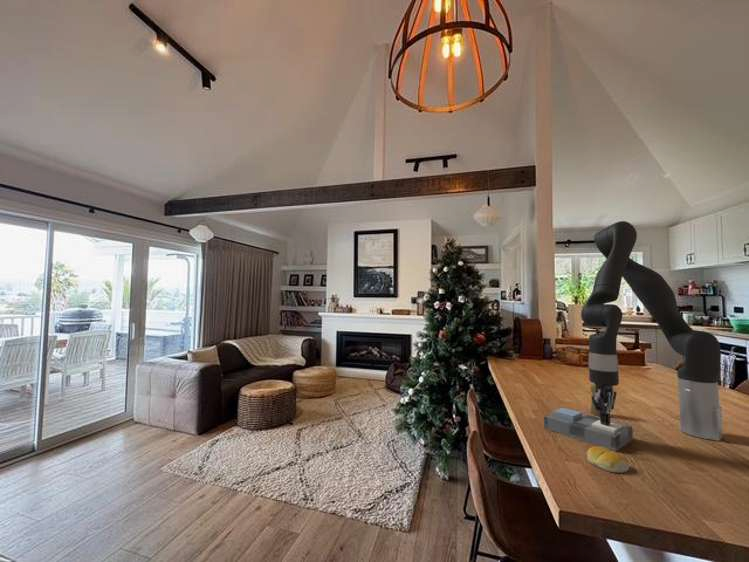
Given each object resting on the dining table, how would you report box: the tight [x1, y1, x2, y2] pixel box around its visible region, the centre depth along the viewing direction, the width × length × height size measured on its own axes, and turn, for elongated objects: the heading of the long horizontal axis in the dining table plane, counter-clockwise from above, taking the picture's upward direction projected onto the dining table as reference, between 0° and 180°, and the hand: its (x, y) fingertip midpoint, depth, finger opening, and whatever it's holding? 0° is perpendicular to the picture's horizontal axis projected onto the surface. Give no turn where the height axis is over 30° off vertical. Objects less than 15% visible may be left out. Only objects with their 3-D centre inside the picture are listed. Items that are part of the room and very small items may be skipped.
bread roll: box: [586, 445, 630, 474], centre depth 84 cm, size 8×9×4 cm
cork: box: [590, 383, 600, 418], centre depth 121 cm, size 6×6×11 cm
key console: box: [543, 412, 634, 452], centre depth 103 cm, size 20×14×4 cm
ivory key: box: [591, 420, 622, 433], centre depth 98 cm, size 6×6×2 cm
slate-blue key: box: [553, 407, 582, 421], centre depth 108 cm, size 6×6×2 cm
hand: (605, 424), depth 99 cm, fingers closed
